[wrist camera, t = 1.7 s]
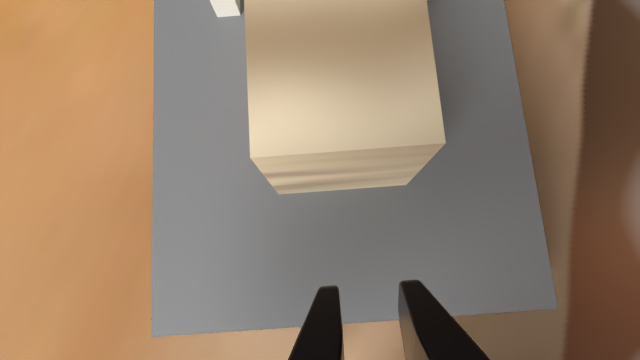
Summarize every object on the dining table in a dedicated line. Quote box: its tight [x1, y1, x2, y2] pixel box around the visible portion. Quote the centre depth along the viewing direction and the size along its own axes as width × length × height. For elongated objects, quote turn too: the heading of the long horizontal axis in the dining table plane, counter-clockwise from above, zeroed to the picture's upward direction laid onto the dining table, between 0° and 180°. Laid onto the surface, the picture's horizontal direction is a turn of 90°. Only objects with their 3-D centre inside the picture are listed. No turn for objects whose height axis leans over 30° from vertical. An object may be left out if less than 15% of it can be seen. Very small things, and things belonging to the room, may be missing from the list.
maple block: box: [244, 0, 446, 194], centre depth 17 cm, size 8×6×7 cm
